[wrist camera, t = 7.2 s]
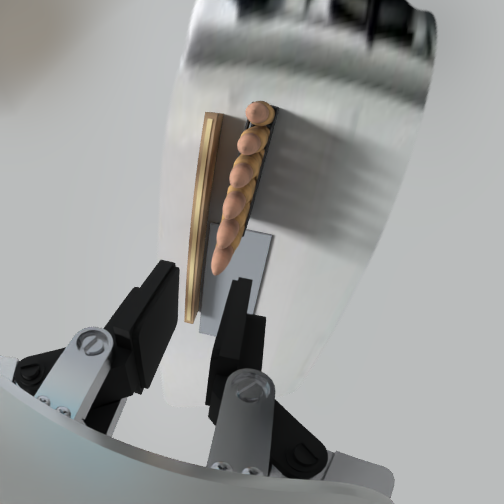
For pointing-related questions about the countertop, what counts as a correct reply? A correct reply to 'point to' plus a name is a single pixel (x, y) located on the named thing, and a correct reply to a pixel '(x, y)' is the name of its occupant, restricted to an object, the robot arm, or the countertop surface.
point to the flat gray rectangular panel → (232, 276)
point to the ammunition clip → (244, 182)
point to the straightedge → (201, 210)
